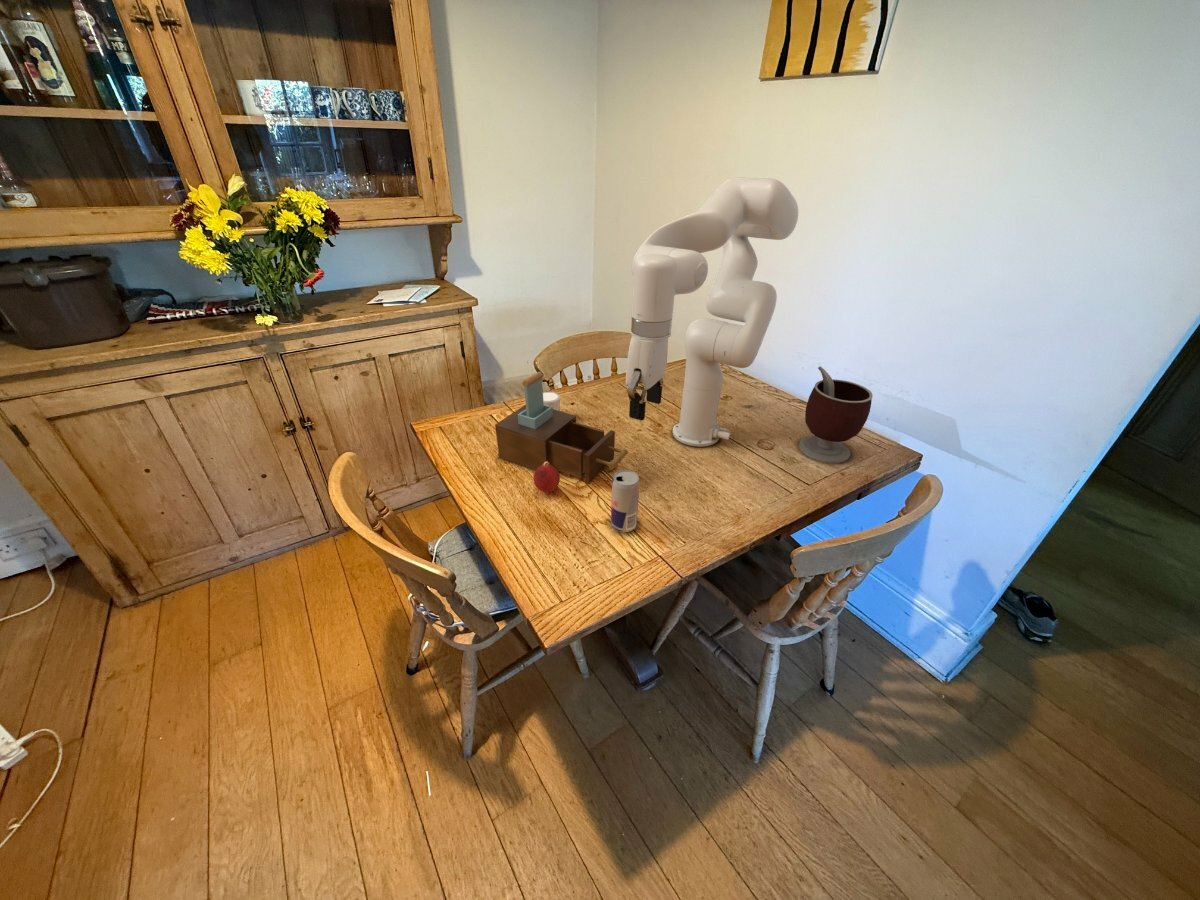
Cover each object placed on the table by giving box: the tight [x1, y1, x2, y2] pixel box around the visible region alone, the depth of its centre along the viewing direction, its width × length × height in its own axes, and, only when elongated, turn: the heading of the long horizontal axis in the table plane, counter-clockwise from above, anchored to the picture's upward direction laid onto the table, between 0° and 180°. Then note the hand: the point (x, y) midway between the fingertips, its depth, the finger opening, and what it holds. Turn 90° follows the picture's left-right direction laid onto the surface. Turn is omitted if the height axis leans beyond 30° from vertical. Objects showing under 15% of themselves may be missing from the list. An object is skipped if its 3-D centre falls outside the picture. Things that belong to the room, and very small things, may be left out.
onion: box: [533, 461, 561, 493], centre depth 102 cm, size 6×6×8 cm
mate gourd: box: [798, 365, 873, 464], centre depth 115 cm, size 16×14×20 cm
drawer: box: [547, 421, 629, 485], centre depth 109 cm, size 18×12×8 cm
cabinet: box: [494, 404, 577, 471], centre depth 115 cm, size 15×14×10 cm
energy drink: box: [610, 469, 641, 533], centre depth 92 cm, size 5×5×12 cm
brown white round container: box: [543, 391, 561, 411], centre depth 131 cm, size 7×7×7 cm
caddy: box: [518, 371, 553, 429], centre depth 109 cm, size 5×8×12 cm, turn 151°
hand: (645, 409), depth 95 cm, fingers open, 7 cm apart
